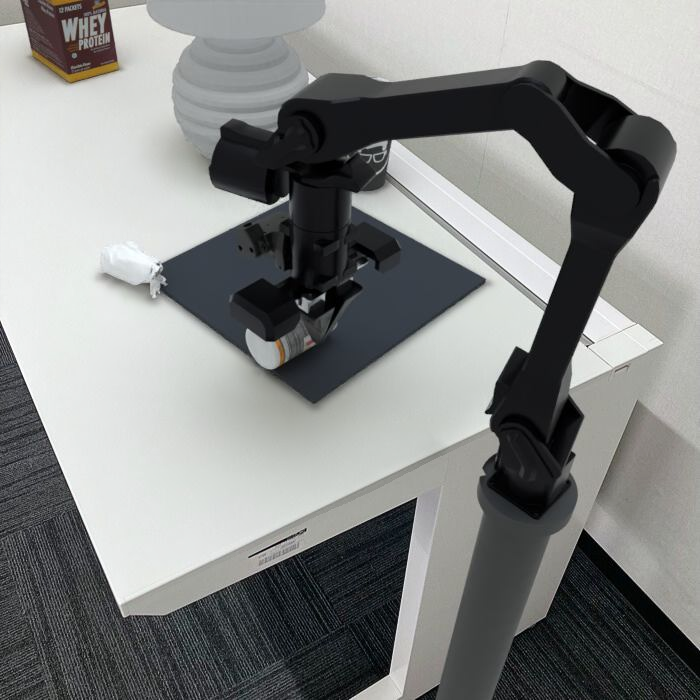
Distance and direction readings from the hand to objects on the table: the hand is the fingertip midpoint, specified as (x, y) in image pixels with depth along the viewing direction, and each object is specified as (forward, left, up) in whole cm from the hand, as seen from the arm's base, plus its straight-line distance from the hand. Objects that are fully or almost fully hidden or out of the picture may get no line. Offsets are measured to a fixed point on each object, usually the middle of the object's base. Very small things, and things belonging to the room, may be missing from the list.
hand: (317, 341), depth 84 cm
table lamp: (+47, -30, -8) cm, 56 cm away
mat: (+15, -15, -8) cm, 22 cm away
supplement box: (+95, -29, -8) cm, 100 cm away
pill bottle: (+7, +2, -4) cm, 9 cm away
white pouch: (+31, +3, -8) cm, 32 cm away
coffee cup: (+28, -38, -8) cm, 48 cm away
